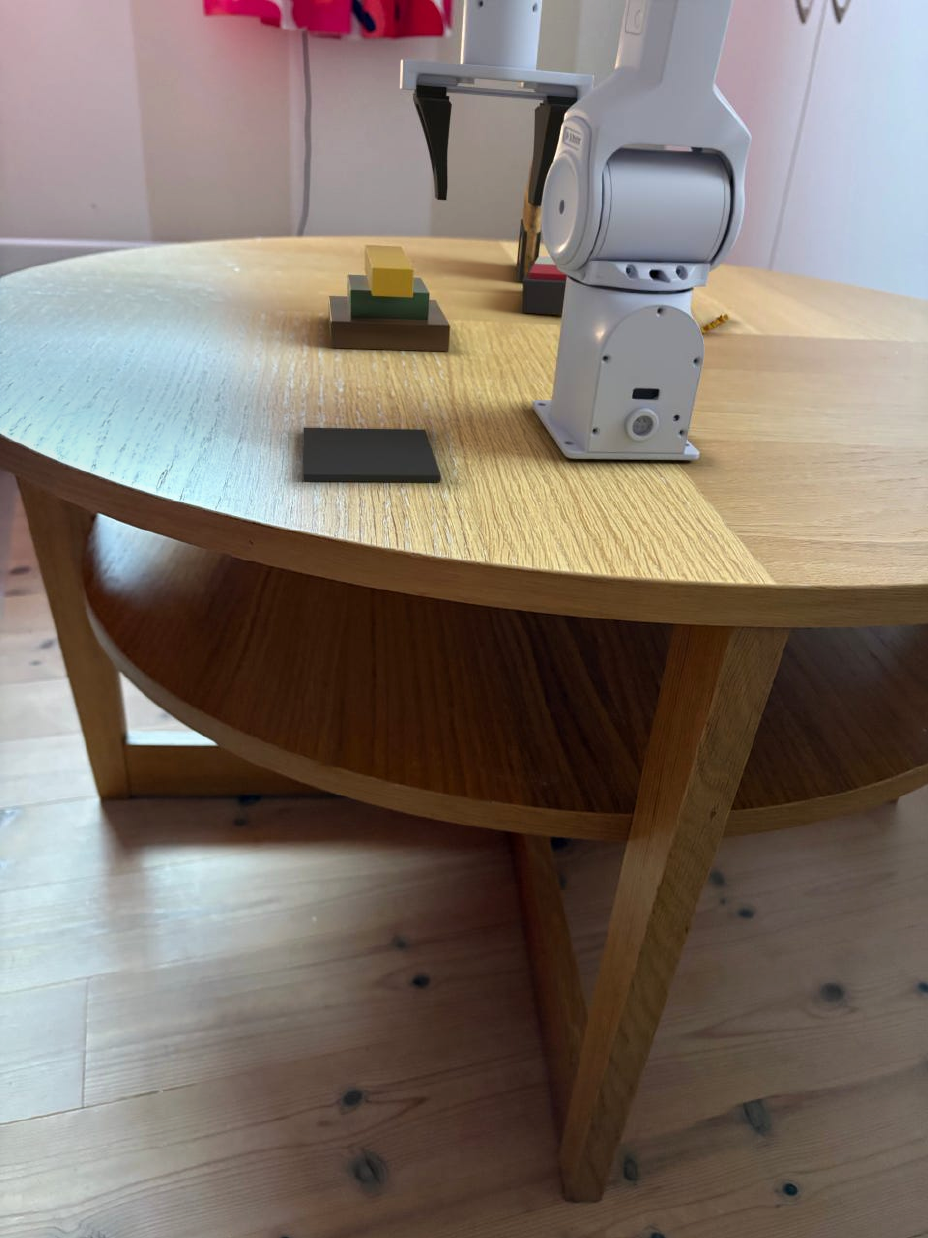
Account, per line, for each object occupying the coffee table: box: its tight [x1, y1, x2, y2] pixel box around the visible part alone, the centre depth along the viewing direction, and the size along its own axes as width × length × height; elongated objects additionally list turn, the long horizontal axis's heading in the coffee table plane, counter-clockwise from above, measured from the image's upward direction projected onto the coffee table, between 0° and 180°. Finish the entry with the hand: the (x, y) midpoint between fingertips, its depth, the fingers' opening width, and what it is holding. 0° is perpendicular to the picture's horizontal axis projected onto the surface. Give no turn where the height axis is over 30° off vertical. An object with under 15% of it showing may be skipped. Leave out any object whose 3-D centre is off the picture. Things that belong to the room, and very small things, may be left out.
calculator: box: [521, 255, 567, 316], centre depth 85 cm, size 11×4×15 cm
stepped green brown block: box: [327, 274, 451, 352], centre depth 71 cm, size 9×9×4 cm
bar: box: [364, 244, 415, 298], centre depth 69 cm, size 10×3×2 cm, turn 9°
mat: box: [302, 427, 442, 483], centre depth 48 cm, size 7×7×1 cm
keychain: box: [699, 313, 731, 335], centre depth 82 cm, size 8×1×1 cm, turn 149°
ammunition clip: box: [516, 157, 542, 284], centre depth 97 cm, size 11×2×12 cm, turn 178°
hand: (487, 201), depth 71 cm, fingers open, 7 cm apart
